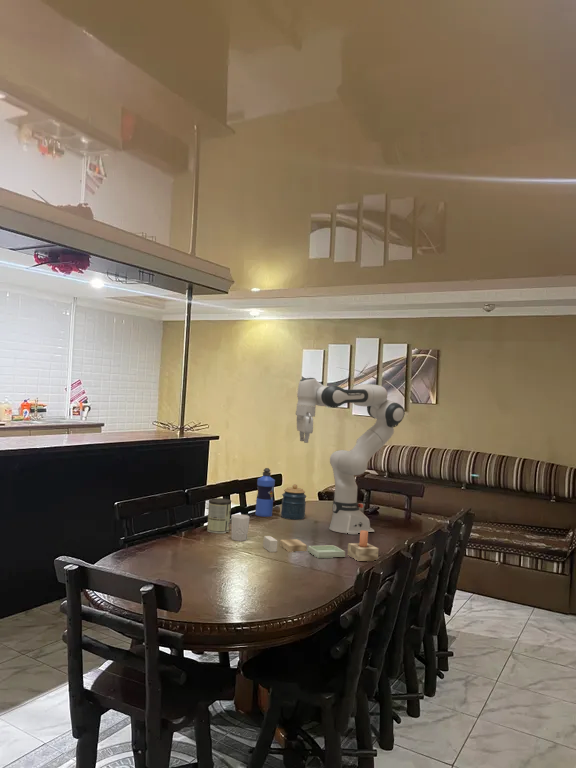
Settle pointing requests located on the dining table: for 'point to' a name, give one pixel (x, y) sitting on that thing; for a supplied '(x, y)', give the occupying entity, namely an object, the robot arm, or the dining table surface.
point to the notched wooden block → (293, 545)
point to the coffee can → (219, 515)
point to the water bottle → (265, 494)
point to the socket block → (362, 552)
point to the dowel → (363, 538)
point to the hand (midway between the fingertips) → (303, 442)
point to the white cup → (239, 527)
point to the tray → (326, 551)
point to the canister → (293, 503)
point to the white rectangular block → (270, 544)
